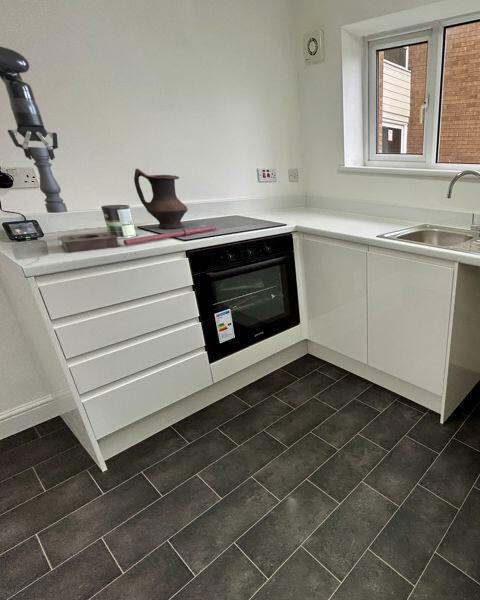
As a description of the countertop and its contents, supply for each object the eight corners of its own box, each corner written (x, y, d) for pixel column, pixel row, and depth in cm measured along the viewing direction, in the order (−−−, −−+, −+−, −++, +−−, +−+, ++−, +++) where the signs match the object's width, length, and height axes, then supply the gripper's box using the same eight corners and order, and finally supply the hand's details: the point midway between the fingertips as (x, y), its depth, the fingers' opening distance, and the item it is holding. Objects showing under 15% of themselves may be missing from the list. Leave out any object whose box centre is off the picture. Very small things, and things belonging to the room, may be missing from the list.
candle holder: (67, 210, 151) (48, 148, 142) (67, 212, 147) (47, 147, 138) (48, 211, 148) (27, 147, 139) (46, 213, 143) (25, 146, 134)
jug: (187, 223, 203) (177, 168, 192) (193, 228, 190) (183, 169, 179) (143, 226, 191) (130, 167, 180) (147, 231, 177) (132, 169, 166)
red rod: (213, 230, 187) (212, 224, 186) (217, 230, 186) (216, 224, 185) (123, 245, 148) (121, 238, 147) (128, 246, 147) (126, 239, 146)
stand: (68, 252, 136) (65, 242, 135) (62, 245, 146) (59, 236, 144) (118, 246, 147) (116, 237, 146) (110, 240, 157) (108, 231, 156)
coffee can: (110, 239, 159) (101, 207, 154) (108, 235, 166) (100, 205, 161) (138, 237, 165) (130, 206, 160) (135, 233, 172) (127, 204, 167)
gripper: (51, 115, 141) (64, 160, 147) (-2, 110, 131) (15, 158, 137) (53, 114, 137) (66, 160, 143) (-1, 109, 127) (16, 159, 133)
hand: (41, 159), depth 140 cm, fingers closed on candle holder, 5 cm apart
